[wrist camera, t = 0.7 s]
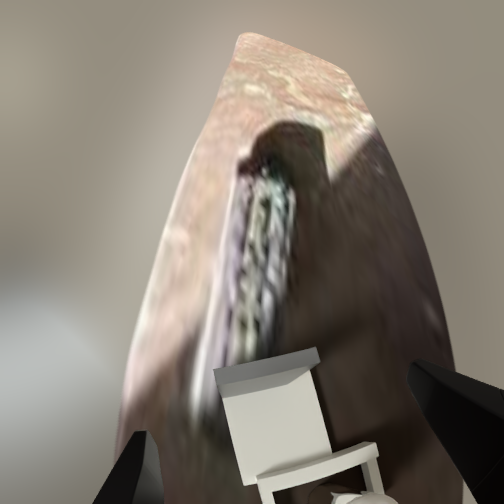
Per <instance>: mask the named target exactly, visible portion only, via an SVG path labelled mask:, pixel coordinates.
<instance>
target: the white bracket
mask: <svg viewBox="0 0 504 504" xmlns="http://www.w3.org/2000/svg"><path fill="white" fill-rule="evenodd" d="M319 363H320V359H319V356H318V352H317V349H316V347H313V348H310V349H306V350H302V351H298V352H294V353H289V354H285V355H281V356H277V357H272V358H268V359H263V360H259V361H254V362H249V363H244V364H239V365H234V366H229V367H223V368H218V369H213V371H214V376H215V380H216V385H217V388H218V390H219V392H220V394H221V396H222V399H223V403H224V407H225V412H226V416H227V420H228V425H229V429H230V433H231V437H232V441H233V445H234V449H235V453H236V457H237V461H238V465H239V469H240V473H241V477H242V480H243V484H244V486H245V485H250V484H255V483H257V484H258V488H259V492H260V495H261V499H262V503H263V504H275V502H274V498H273V494H272V492H274V491H278V490H282V489H286V488H290V487H293V486H297V485H300V484H304V483H307V482H310V481H314V480H317V479H320V478H323V477H326V476H329V475H332V474H335V473H338V472H340V471H343V470H346V469H349V468H351V467H354V466H356V465H359V464H361V468H362V472H363V476H364V480H365V484H366V488H367V492H372V493H378V494H383V495H385V494H384V490H383V485H382V481H381V477H380V472H379V468H378V464H377V460H376V457H378V456H379V453H378V449H377V445H376V443H375V442H362V443H360V444H357V445H354V446H352V447H349V448H346V449H344V450H341V451H338V452H335V453H332V450H331V446H330V443H329V439H328V435H327V431H326V428H325V424H324V420H323V416H322V413H321V409H320V405H319V402H318V398H317V394H316V391H315V387H314V384H313V380H312V376H311V373H310V369H311V368H313V367H314V366H316V365H317V364H319Z"/></svg>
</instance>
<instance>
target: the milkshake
mask: <svg viewBox="0 0 504 504" xmlns="http://www.w3.org/2000/svg"><path fill="white" fill-rule="evenodd" d="M307 504H398V503H397V502H396V501H395V500H394V499H392V498H391V497H389V496H387V495H383V494H378V493H372V492H367V491H361V490H355V489H351V488H348V487H344V486H341V485H338V484H335V483H332V482H331V483H327V484H323V485H319V486H318V487H317V488H316V489H314V490H313V491H312V492H311V493H310V494H309V498H308V503H307Z"/></svg>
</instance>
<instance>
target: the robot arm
mask: <svg viewBox="0 0 504 504" xmlns="http://www.w3.org/2000/svg"><path fill="white" fill-rule="evenodd" d="M406 381H407V384H408V386H409V388H410V390H411V392H412V394H413V396H414V398H415V400H416V402H417V404H418V406H419V408H420V410H421V412H422V414H423V416H424V417H425V419H426V420H427V422H428V423H429V425H430V427H431V428H432V430H433V431H434V433H435V434H436V436H437V437H438V439H439V441H440V442H441V444H442V445H443V447H444V449H445V450H446V452H447V453H448V455H449V456H450V458H451V460H452V461H453V463H454V465H455V466H456V468H457V469H458V471H459V473H460V474H461V476H462V478H463V479H464V481H465V483H466V484H467V486H468V488H469V489H470V491H471V493H472V495H473V496H474V498H475V500H476V502H477V503H478V504H504V390H502V389H499V388H497V387H494V386H491V385H489V384H486V383H483V382H480V381H478V380H475V379H473V378H470V377H468V376H465V375H462V374H460V373H457V372H455V371H452V370H450V369H447V368H444V367H442V366H439V365H437V364H434V363H432V362H429V361H427V360H424V359H421V358H420V359H417V360H415V361H412V362H411V363H410V365H409V369H408V373H407V377H406ZM92 504H164V491H163V483H162V477H161V470H160V464H159V456H158V449H157V445H156V443H155V441H154V440H153V438H152V436H151V435H150V433H149V431H148V430H136V431H135V432H134V433H133V435H132V436H131V438H130V440H129V441H128V443H127V445H126V446H125V448H124V450H123V452H122V453H121V455H120V457H119V458H118V460H117V462H116V464H115V465H114V467H113V469H112V470H111V472H110V474H109V476H108V478H107V479H106V481H105V483H104V484H103V486H102V488H101V490H100V491H99V493H98V495H97V496H96V498H95V500H94V502H93V503H92Z"/></svg>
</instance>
